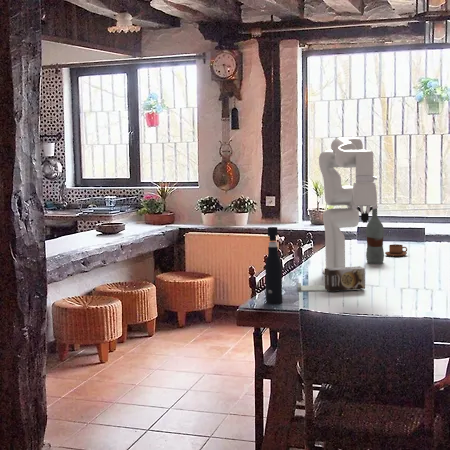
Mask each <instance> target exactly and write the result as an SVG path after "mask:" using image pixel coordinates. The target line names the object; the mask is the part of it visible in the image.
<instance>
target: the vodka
mask: <svg viewBox="0 0 450 450" xmlns="http://www.w3.org/2000/svg"><path fill="white" fill-rule="evenodd" d="M371 215H372V216H371V218H369V221H367V223H366V224H367V225H366V227H365V228H366V229H365V236H366V237H365V238H366V252H365V253H366V255H365V257H366V258H365V259H366V262H367V264H370V265H371V264H372V265H378V264H379V265H380V263H381V264H383V263H384V258H385V252H384V235H385V232H384V229H385V228H384V225H383V223H382V221H381V220H380V218H379V217H378V208H376V209H372V210H371Z"/></svg>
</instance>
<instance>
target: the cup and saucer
mask: <svg viewBox="0 0 450 450" xmlns="http://www.w3.org/2000/svg"><path fill="white" fill-rule="evenodd" d="M388 249H389V251H385V252H384V255H385V256H389V257H394V256H395V257H403V256H406V255H407V254H408V253H407V252H408V248H407V246H403V244H397V243H395V244H394V243H393V244H389V245H388ZM403 249H405V250H403Z"/></svg>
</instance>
